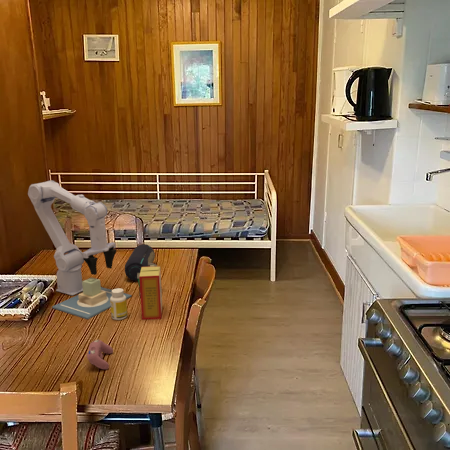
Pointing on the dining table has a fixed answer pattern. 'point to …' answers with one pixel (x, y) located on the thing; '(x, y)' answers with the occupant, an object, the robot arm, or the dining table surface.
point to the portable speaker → (139, 260)
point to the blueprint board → (87, 304)
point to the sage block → (91, 286)
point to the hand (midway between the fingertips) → (101, 271)
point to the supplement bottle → (118, 304)
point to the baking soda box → (151, 292)
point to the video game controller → (98, 354)
